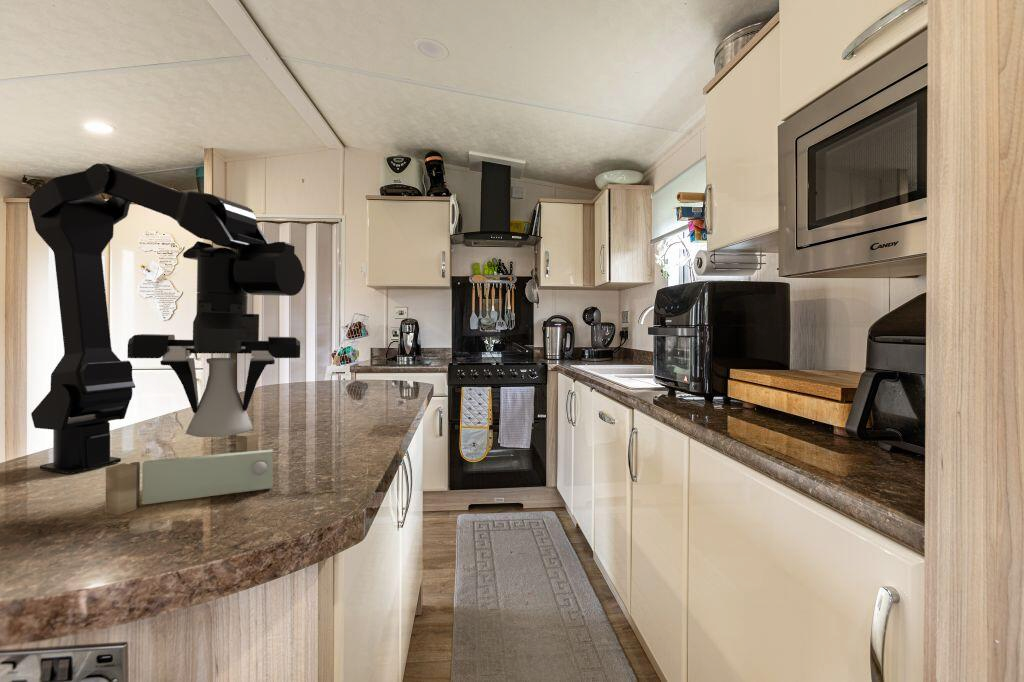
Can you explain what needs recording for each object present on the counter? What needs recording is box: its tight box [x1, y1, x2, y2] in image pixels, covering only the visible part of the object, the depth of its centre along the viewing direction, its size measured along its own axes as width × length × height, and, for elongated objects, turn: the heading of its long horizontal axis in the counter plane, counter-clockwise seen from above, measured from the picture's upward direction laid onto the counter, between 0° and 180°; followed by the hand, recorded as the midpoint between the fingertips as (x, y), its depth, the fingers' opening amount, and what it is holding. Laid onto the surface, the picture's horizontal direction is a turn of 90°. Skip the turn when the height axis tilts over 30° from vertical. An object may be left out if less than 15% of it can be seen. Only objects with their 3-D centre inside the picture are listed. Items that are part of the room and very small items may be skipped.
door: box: [141, 448, 274, 505], centre depth 55 cm, size 2×13×5 cm, turn 119°
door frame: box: [105, 431, 259, 516], centre depth 59 cm, size 2×19×5 cm, turn 164°
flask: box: [185, 357, 254, 438], centre depth 61 cm, size 7×7×10 cm
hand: (220, 411), depth 61 cm, fingers closed on flask, 5 cm apart
